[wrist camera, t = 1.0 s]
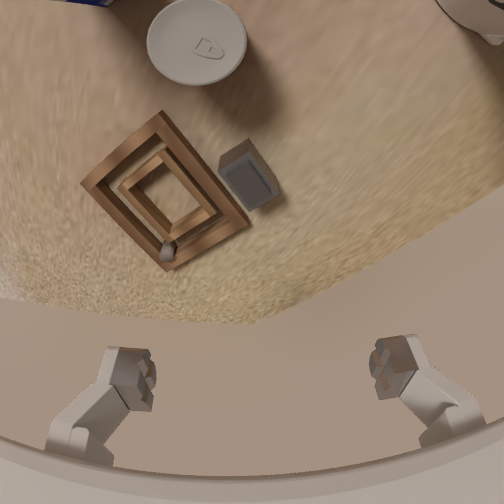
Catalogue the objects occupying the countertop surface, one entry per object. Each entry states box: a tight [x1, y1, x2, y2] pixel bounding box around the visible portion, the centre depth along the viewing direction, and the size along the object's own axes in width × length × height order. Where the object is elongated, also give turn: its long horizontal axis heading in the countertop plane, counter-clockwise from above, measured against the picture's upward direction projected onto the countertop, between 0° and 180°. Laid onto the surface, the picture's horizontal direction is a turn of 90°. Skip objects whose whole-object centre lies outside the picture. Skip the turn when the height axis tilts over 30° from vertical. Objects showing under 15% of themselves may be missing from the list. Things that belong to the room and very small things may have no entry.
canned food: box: [147, 0, 247, 86], centre depth 25 cm, size 8×8×11 cm
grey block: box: [218, 138, 280, 212], centre depth 36 cm, size 4×6×6 cm, turn 33°
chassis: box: [80, 110, 248, 272], centre depth 39 cm, size 14×18×3 cm
